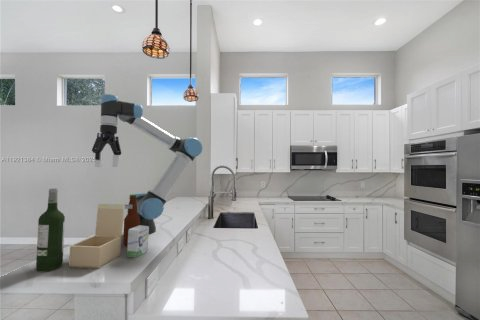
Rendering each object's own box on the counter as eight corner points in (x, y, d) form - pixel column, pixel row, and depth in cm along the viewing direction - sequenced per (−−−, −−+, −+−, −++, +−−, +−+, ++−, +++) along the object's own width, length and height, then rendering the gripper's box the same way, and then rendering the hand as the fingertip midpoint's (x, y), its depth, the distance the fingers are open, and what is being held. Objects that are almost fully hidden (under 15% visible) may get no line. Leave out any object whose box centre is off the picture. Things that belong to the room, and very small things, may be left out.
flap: (94, 235, 103) (105, 232, 111) (121, 236, 103) (130, 233, 110) (97, 203, 105) (108, 202, 113) (124, 204, 105) (132, 203, 112)
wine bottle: (30, 269, 86) (34, 189, 87) (54, 262, 93) (57, 187, 95) (44, 273, 83) (48, 190, 85) (67, 265, 91) (70, 188, 92)
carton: (94, 253, 103) (94, 235, 103) (120, 254, 102) (120, 236, 103) (69, 267, 89) (70, 246, 89) (99, 268, 88) (100, 247, 89)
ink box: (138, 250, 109) (139, 224, 109) (148, 251, 108) (149, 225, 108) (126, 256, 100) (127, 229, 101) (136, 258, 99) (137, 230, 100)
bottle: (140, 242, 120) (142, 193, 121) (137, 247, 113) (139, 195, 114) (125, 243, 118) (127, 194, 119) (121, 248, 111) (123, 195, 112)
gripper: (116, 129, 131) (114, 167, 130) (84, 120, 106) (82, 166, 105) (129, 129, 131) (127, 167, 130) (99, 120, 106) (97, 166, 105)
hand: (107, 167), depth 118 cm, fingers open, 13 cm apart
